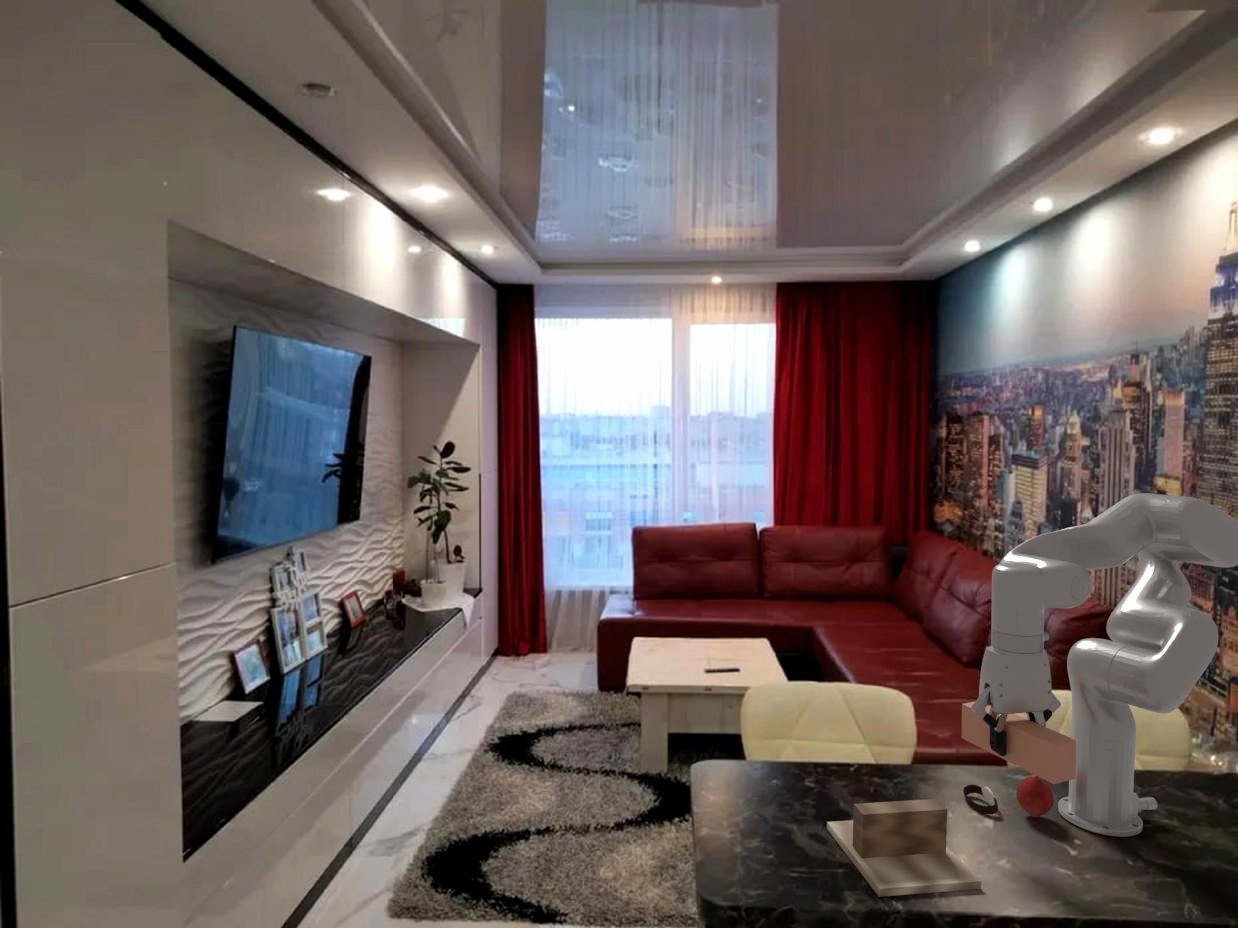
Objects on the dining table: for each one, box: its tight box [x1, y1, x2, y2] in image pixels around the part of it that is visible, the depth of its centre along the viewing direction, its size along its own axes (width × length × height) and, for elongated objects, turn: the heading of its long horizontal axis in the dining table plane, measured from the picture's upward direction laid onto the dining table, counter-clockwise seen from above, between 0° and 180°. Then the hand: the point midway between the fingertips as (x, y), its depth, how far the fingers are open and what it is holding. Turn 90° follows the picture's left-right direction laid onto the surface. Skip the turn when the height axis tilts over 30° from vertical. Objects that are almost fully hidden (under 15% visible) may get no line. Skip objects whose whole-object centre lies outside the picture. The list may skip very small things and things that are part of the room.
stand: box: [826, 798, 982, 898], centre depth 123 cm, size 16×19×8 cm
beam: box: [961, 701, 1076, 785], centre depth 125 cm, size 4×18×6 cm, turn 21°
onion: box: [1015, 774, 1055, 819], centre depth 136 cm, size 6×6×8 cm
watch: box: [962, 784, 999, 815], centre depth 140 cm, size 8×5×4 cm, turn 8°
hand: (1015, 749), depth 125 cm, fingers closed on beam, 5 cm apart
